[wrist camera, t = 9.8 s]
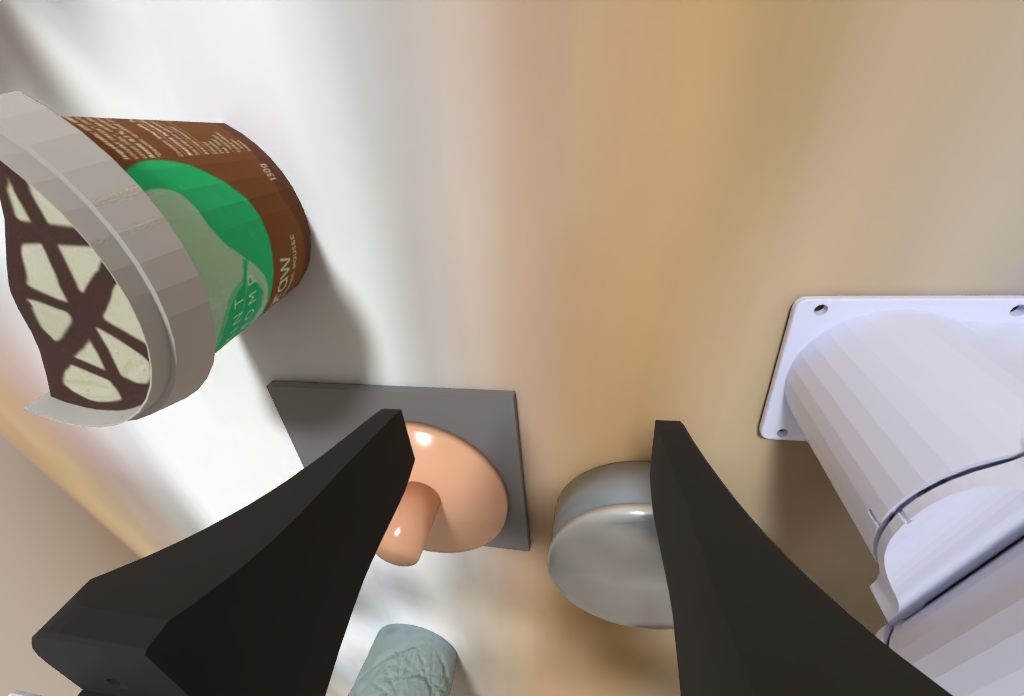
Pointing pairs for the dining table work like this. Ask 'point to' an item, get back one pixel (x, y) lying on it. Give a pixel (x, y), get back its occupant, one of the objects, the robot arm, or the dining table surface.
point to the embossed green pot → (406, 664)
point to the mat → (464, 412)
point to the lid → (445, 499)
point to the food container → (139, 252)
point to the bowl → (611, 547)
